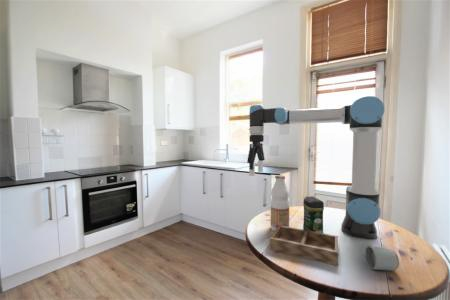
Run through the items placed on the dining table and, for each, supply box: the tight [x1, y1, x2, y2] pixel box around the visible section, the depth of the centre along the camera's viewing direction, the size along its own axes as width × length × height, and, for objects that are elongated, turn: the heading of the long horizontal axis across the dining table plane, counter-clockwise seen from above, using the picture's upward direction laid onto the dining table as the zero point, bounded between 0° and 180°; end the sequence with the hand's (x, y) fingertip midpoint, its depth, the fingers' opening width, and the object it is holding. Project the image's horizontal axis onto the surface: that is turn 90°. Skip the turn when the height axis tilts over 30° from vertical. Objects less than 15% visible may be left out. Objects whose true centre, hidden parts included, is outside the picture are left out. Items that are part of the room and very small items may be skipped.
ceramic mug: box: [364, 245, 400, 271], centre depth 80 cm, size 11×8×8 cm
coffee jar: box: [302, 195, 325, 233], centre depth 104 cm, size 10×8×19 cm
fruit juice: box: [270, 174, 290, 232], centre depth 112 cm, size 9×9×28 cm
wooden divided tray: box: [269, 225, 339, 267], centre depth 92 cm, size 26×15×5 cm, turn 63°
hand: (256, 173), depth 117 cm, fingers open, 13 cm apart
